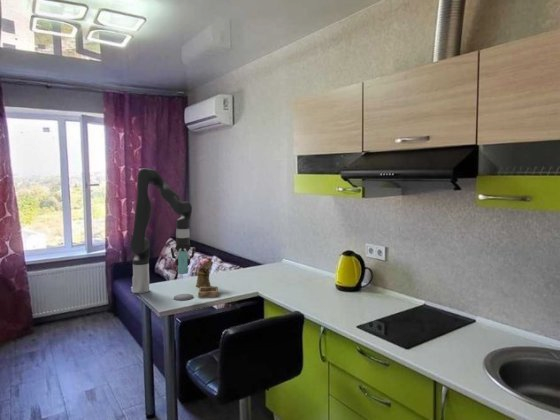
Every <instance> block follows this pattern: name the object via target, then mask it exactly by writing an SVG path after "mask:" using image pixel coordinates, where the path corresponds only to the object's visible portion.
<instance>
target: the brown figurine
mask: <svg viewBox="0 0 560 420" xmlns="http://www.w3.org/2000/svg"><path fill="white" fill-rule="evenodd" d="M213 264H214V262H213V260H210V261H207V262H206V263H205V264H204V266H203V267H200V268H198V270H197V278H196V284H195V287H196V288H198V289H199V288H200V287H211V282H210V268H212V267H213Z"/></svg>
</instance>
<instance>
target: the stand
mask: <svg viewBox="0 0 560 420" xmlns="http://www.w3.org/2000/svg"><path fill="white" fill-rule="evenodd" d="M197 293H198V294H197V296H198V298H218V296H219V295H218V293H219V287H218V286H209V287H200V288H199V287H198V292H197Z"/></svg>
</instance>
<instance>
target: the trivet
mask: <svg viewBox="0 0 560 420" xmlns="http://www.w3.org/2000/svg"><path fill="white" fill-rule="evenodd" d="M192 299H194V295H193V294H190V293H180V294H176V295H174V296H173V300H175V301H181V302H182V301H189V300H190V301H191V300H192Z"/></svg>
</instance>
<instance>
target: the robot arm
mask: <svg viewBox="0 0 560 420" xmlns="http://www.w3.org/2000/svg"><path fill="white" fill-rule="evenodd" d="M136 181H137V183H136V185H137V187H136V189H137V190H136V191H137V192H136V202H135V203H136V204H135V210H134V219H133V220H134V221H133V231H132V236H131V240H130V250H131V252H132V253H133V254H134V257H133V259H132V277H131V281H132V282H131V283H132V287H131V290H132V293H134V294H145V293H148V292H149V291H150V257H151V243H150V240H149V239H148V238H147V237H146V231H147V228H148V227H149V223H150V221H151V218H152V209H153V205H152V202H151V199H150V196H149V192H148V190H149V185H153V186H154V187H156V188H157V189H158V190H159V192H160V195H161V197H162V198H163V199H164V200H165V201H166V202H167V203H168V204H169V205H170V208H171V210H173V212H174V213H175V214H177V215H180V217H179V218H177V219H176V231H175V238H176V239H175V242H176V243H175V245H176V246H174V247H171V248H170V252H171V253H170V254H171V258H172V259H174V260H175V265H176V266H177V267H178V256H179V251H188V252H187V257H188V266H190V265H191V259H193V258H194V257H195V251H196V247H192V246H191V244H190V242H191V240H190V236H191V235H190V232H191V231H190V220H191V216H192V212H193V207H192V204H191V203H190V202H189V201H180V200H181V198H180V196H179V194H177V192H175V191H174V190H173V189H172V188H171V187H170V185H168V184H167V182H166V181H165V180H164V179H163V177H162V176H161V175H160V174H159V172H158V171H157V170H155V169H154V168H147V167H146V168H145V167H144V168H143V167H142V168H141V169H140V170H139V171H138V174H137V179H136ZM175 251H176V252H177V254H175ZM189 251H191V255H190V253H189Z"/></svg>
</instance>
